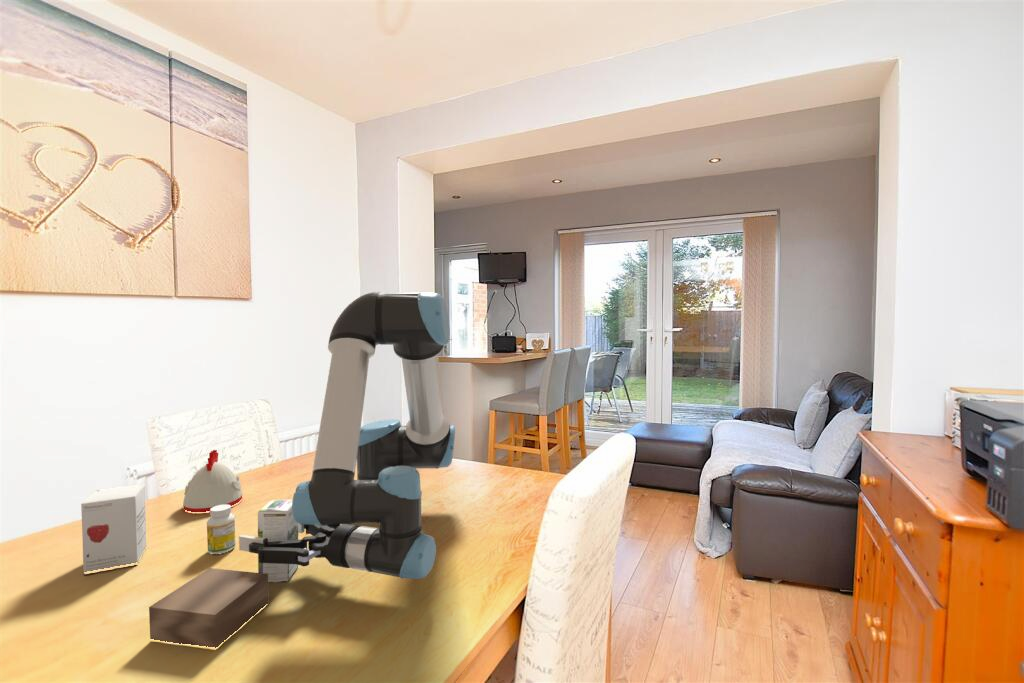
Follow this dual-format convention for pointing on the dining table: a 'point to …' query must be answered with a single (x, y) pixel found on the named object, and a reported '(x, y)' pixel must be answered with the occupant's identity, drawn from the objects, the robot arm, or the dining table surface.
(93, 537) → the supplement box
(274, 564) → the syrup box
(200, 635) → the walnut block
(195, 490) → the kitchen timer
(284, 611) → the dining table surface
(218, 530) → the supplement bottle
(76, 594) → the dining table surface
